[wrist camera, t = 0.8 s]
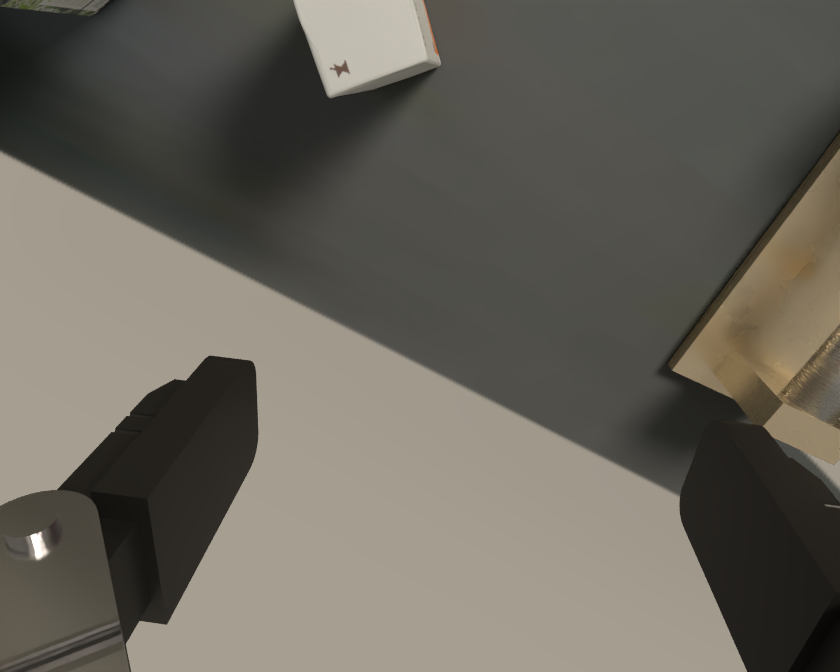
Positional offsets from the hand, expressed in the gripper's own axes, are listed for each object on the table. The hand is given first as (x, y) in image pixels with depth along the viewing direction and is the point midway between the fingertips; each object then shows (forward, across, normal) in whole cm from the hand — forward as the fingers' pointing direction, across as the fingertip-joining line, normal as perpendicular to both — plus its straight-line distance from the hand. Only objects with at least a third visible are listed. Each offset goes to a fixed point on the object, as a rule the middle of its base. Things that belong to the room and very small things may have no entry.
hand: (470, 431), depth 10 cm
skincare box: (+27, +5, -7) cm, 29 cm away
